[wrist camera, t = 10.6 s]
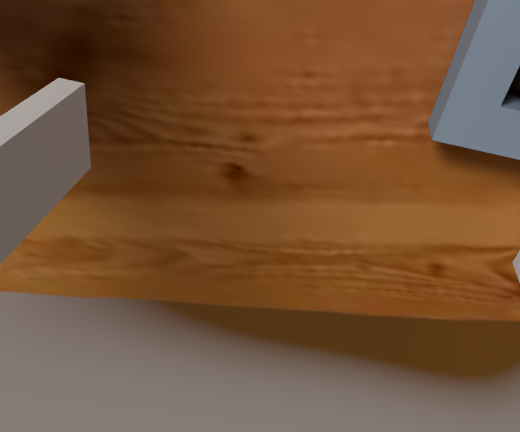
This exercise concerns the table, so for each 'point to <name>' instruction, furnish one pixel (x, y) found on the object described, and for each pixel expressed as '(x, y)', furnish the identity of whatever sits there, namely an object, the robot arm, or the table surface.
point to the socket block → (482, 83)
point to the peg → (517, 78)
